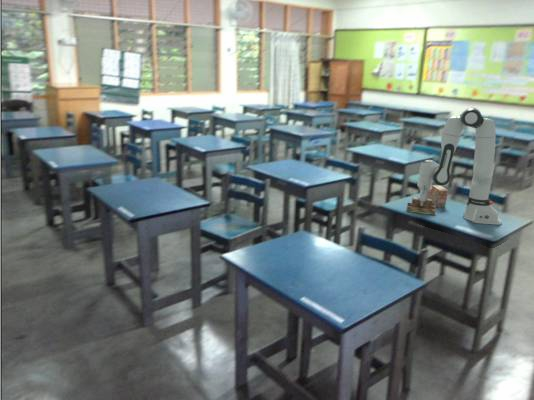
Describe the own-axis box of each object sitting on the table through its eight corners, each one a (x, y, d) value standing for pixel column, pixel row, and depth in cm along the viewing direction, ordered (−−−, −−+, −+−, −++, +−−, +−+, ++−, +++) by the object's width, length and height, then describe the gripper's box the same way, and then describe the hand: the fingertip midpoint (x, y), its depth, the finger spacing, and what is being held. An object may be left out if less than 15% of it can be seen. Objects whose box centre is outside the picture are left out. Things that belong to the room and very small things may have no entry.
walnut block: (412, 207, 294) (413, 198, 292) (411, 205, 297) (412, 197, 295) (430, 209, 291) (432, 200, 289) (430, 207, 295) (431, 198, 293)
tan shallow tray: (434, 210, 297) (435, 205, 296) (435, 214, 288) (435, 210, 287) (407, 206, 302) (407, 202, 301) (406, 210, 293) (407, 206, 292)
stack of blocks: (423, 197, 324) (426, 181, 321) (431, 197, 325) (434, 181, 321) (436, 207, 304) (439, 189, 300) (445, 207, 305) (448, 190, 301)
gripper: (429, 188, 279) (426, 209, 283) (429, 181, 297) (426, 200, 302) (419, 187, 281) (416, 208, 285) (420, 180, 299) (417, 199, 304)
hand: (421, 204), depth 294 cm, fingers closed on walnut block, 4 cm apart
